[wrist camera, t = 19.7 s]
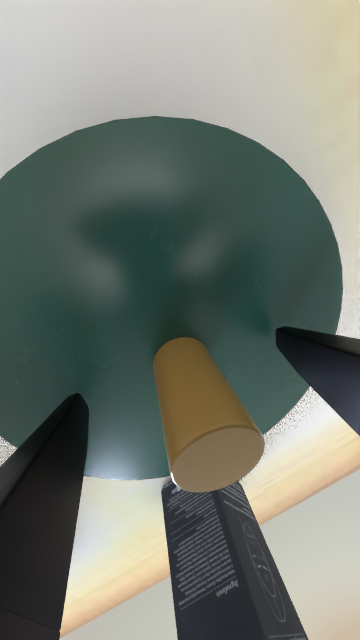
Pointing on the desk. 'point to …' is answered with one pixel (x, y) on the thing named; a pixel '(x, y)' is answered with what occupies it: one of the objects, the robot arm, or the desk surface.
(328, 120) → the desk surface
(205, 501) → the box
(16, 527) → the robot arm
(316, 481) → the desk surface
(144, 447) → the tin lid
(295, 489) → the desk surface
